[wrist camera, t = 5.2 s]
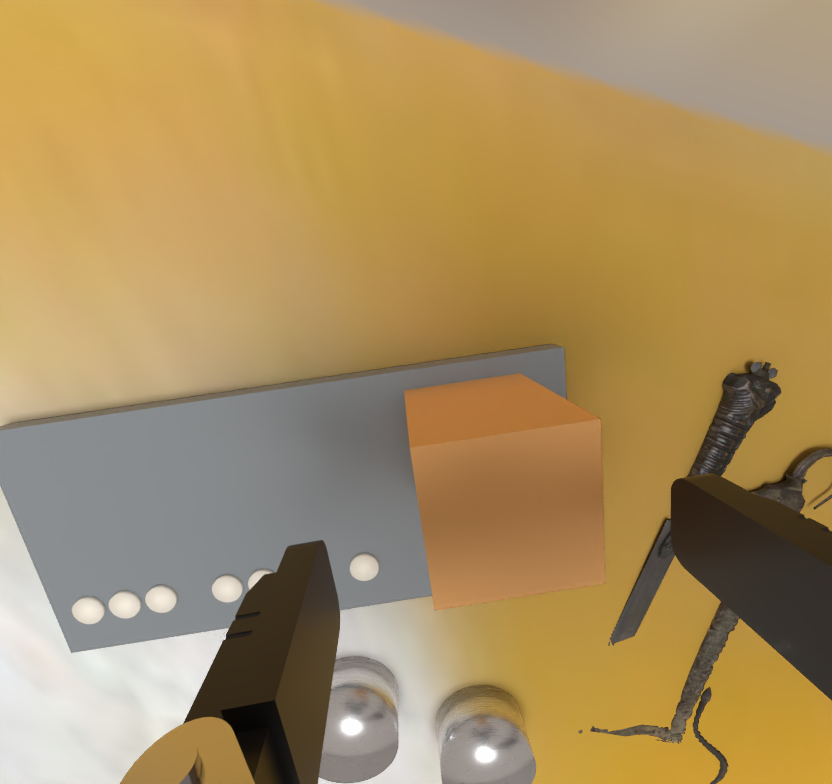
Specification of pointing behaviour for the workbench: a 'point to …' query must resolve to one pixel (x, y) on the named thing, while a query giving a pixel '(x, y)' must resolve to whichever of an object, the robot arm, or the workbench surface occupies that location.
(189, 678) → the workbench surface
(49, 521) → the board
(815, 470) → the workbench surface
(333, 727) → the steel cylinder
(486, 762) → the steel cylinder
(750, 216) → the workbench surface
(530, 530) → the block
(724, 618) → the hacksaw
